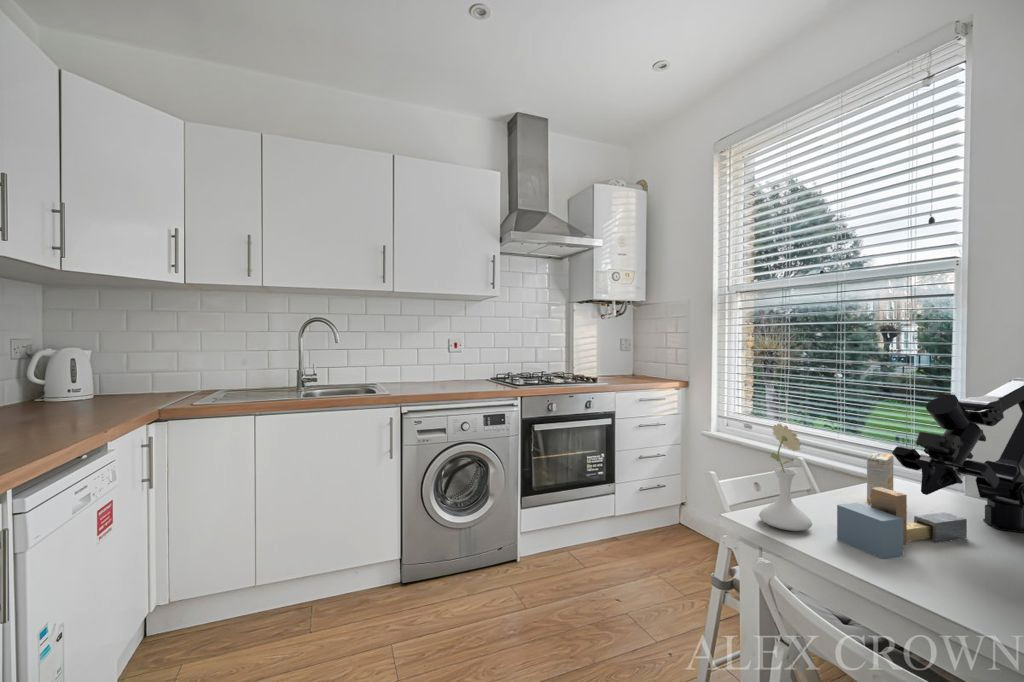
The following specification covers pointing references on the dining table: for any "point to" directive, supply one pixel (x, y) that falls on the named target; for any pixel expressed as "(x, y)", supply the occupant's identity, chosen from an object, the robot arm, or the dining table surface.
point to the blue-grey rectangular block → (870, 530)
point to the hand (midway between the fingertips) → (923, 493)
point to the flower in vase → (785, 489)
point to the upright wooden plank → (899, 513)
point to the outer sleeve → (944, 526)
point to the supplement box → (879, 472)
